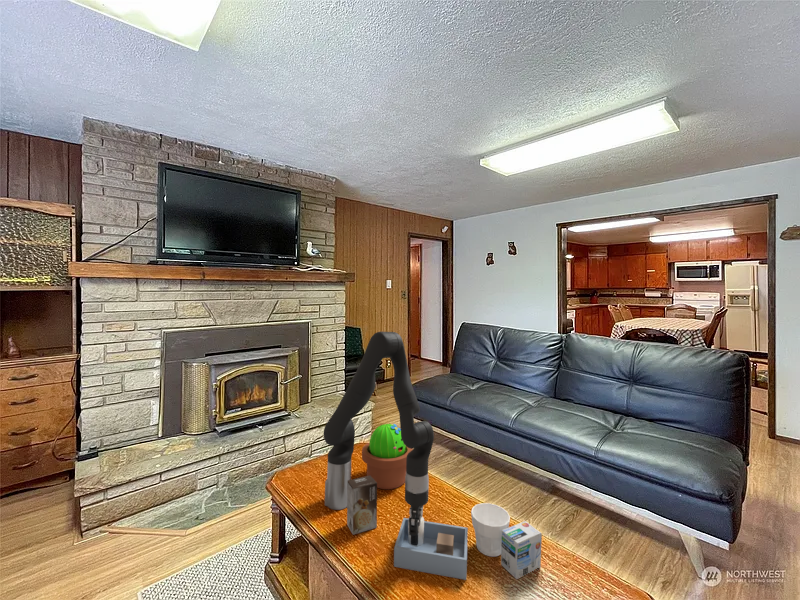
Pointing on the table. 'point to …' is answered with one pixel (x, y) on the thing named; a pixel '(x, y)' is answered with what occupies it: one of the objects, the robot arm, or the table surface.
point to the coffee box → (361, 504)
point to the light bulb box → (521, 549)
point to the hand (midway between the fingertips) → (415, 538)
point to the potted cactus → (386, 457)
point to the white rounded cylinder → (420, 534)
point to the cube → (445, 544)
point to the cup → (489, 527)
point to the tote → (433, 551)
